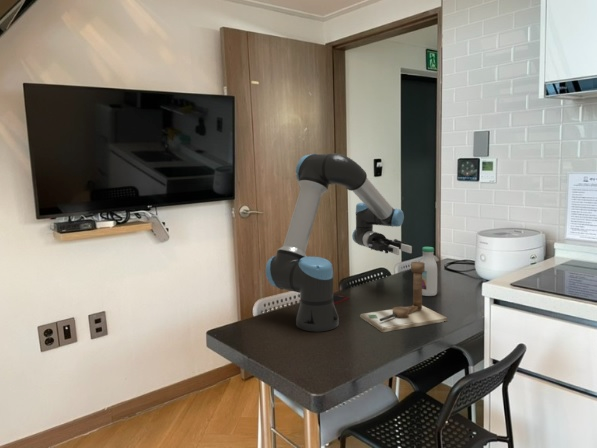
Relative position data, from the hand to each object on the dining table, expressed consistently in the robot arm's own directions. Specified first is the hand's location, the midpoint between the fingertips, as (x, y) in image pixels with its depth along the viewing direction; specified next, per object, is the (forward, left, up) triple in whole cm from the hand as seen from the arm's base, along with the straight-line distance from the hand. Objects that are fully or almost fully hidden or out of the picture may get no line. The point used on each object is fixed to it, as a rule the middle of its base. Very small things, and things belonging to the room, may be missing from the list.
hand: (404, 250), depth 177 cm
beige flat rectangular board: (-9, -13, -22) cm, 27 cm away
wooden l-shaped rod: (-9, -12, -20) cm, 25 cm away
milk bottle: (+17, +9, -22) cm, 30 cm away
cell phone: (-24, +17, -23) cm, 37 cm away
